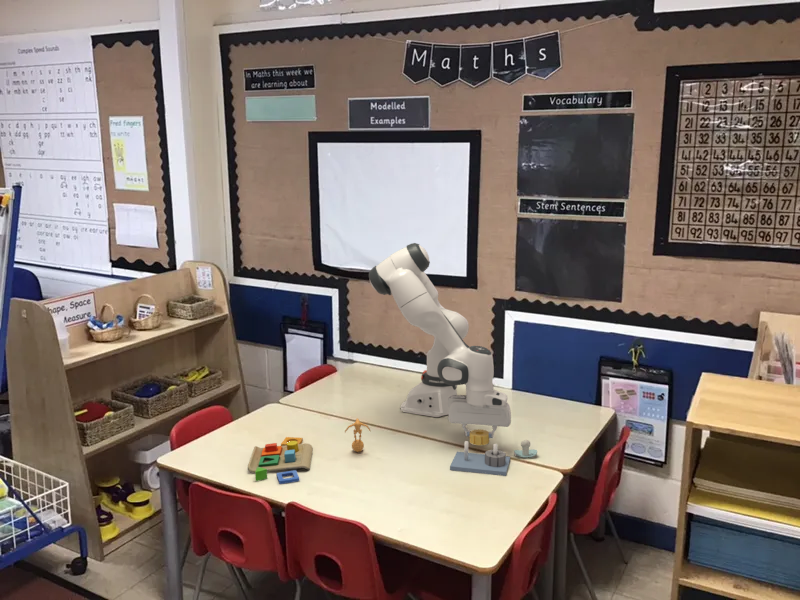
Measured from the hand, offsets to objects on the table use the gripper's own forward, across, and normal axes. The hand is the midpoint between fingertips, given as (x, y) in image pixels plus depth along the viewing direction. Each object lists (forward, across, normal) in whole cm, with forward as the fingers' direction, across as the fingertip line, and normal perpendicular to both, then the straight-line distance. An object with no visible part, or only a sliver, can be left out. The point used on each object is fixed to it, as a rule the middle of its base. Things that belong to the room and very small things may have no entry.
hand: (479, 436), depth 230 cm
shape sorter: (+4, -60, -22) cm, 64 cm away
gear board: (+4, +2, -12) cm, 13 cm away
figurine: (+4, -38, -11) cm, 40 cm away
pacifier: (+5, +15, -2) cm, 16 cm away
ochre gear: (+2, 0, 0) cm, 2 cm away
